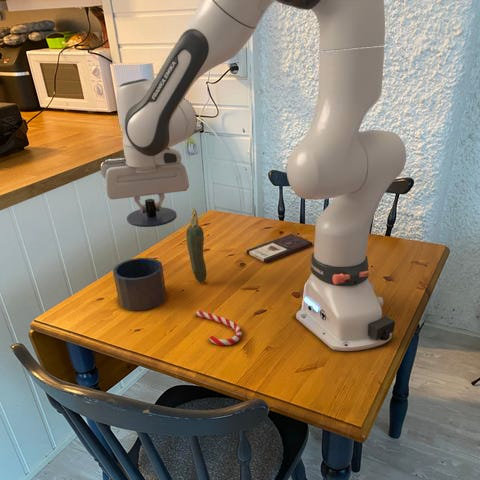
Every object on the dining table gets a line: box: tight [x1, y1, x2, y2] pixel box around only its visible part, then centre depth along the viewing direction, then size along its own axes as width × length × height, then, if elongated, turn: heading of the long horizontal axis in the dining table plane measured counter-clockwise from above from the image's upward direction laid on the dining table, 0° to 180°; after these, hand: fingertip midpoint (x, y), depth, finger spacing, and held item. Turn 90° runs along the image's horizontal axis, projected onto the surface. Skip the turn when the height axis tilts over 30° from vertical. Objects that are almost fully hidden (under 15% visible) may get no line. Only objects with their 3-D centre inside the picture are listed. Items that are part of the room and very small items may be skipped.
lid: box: [126, 198, 178, 228], centre depth 119 cm, size 13×13×5 cm
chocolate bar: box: [246, 233, 313, 264], centre depth 138 cm, size 9×1×18 cm
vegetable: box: [185, 207, 208, 284], centre depth 117 cm, size 4×4×20 cm
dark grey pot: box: [112, 257, 167, 312], centre depth 114 cm, size 12×12×8 cm
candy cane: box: [195, 310, 243, 346], centre depth 104 cm, size 8×1×15 cm
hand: (151, 211), depth 119 cm, fingers closed on lid, 2 cm apart
